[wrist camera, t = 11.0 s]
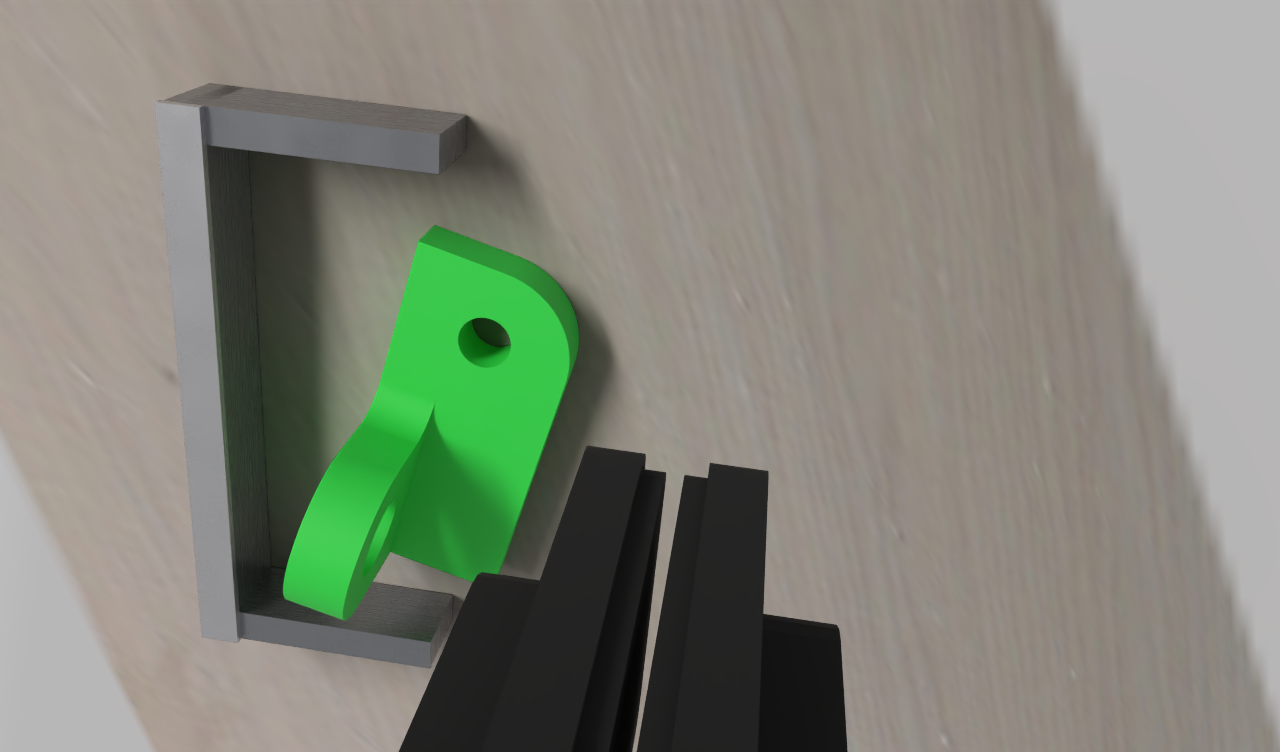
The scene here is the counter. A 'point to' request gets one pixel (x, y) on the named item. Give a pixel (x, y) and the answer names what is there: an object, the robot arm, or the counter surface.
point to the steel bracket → (229, 352)
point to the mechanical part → (442, 428)
